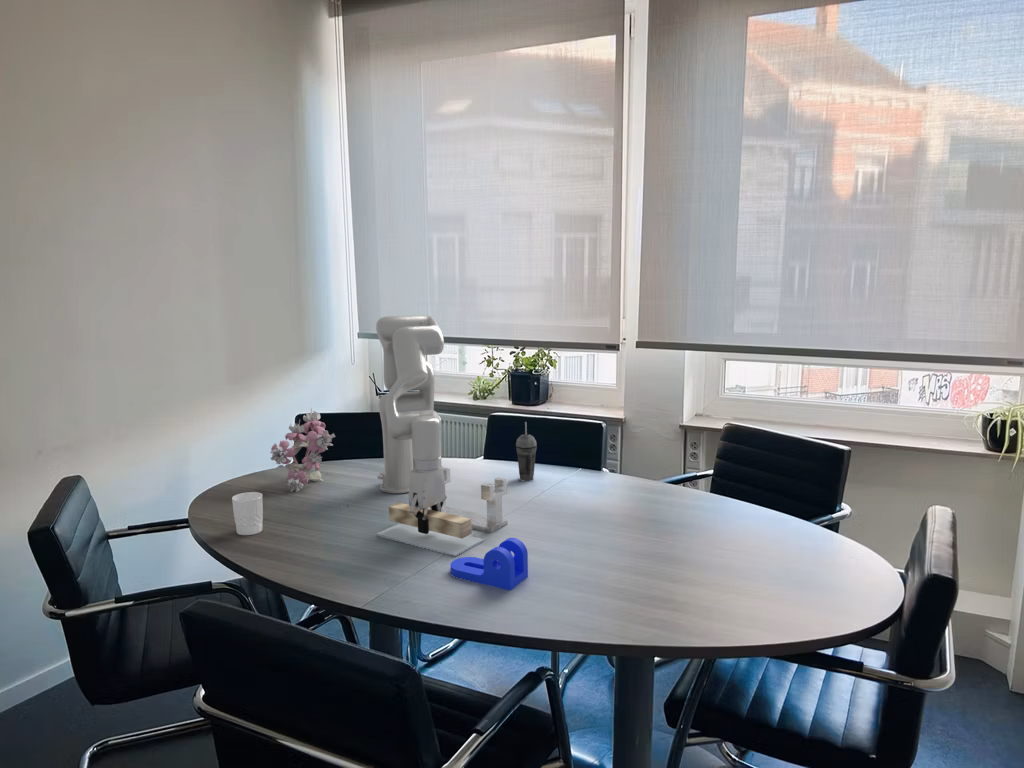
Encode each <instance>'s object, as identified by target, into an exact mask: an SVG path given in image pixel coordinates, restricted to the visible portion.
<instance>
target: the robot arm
mask: <svg viewBox="0 0 1024 768" xmlns="http://www.w3.org/2000/svg"><path fill="white" fill-rule="evenodd" d="M375 327H376V328H375V330H376V334H377V337H378V340H379V342H380V344H381V347H382V351H383V354H382V355H383V360H382V362H383V367H382V368H383V369H382V370H383V384H384V386H385V388H386V390H387V391H388V393H386V394H383V395H382V396H381V397H380V398H379V400H378V410H379V416H380V421H381V429H382V444H383V445H382V446H383V447H382V448H383V467H384V468H383V469H384V471H380V472H379V474H378V475H377V480H382V483H381V484H380V488H379V489H380V490H381V492H383V493H387V494H405V493H406V494H407V493H408V505H409V506H410V509H409V512H410V513H412V514H414V515H415V516H416V518H417V519H418V532H420V533H424V534H428V533H429V529H428V519H426V518H427V509H429V508H430V510H434V511H439V512H441V508H442V506H443V503H444V501H445V500H447V498H448V497H447V495H446V484H445V481H444V474H443V469H442V467H443V466H442V439H441V436H442V435H441V434H442V433H441V430H442V418H441V416H440V415H439V414H438V412H437V411H435V409H434V406H435V372H434V367H433V365H432V363H431V362H429V361H428V360H427V359H426V356H431V355H432V356H433V355H434V356H435V355H436V356H437V355H440V354H441V353H442V352H444V351H443V350H444V347H445V340H444V335H443V332H442V329H441V327H440V325H439V324H438V323H437V321H436V320H435V318H434V317H433V316H431V315H428V314H427V315H422V314H421V315H390V316H383V317H380V318H379V319H377V322H376V325H375ZM421 510H423V514H422V513H421Z"/></svg>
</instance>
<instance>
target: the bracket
mask: <svg viewBox="0 0 1024 768" xmlns="http://www.w3.org/2000/svg"><path fill="white" fill-rule="evenodd" d="M512 553H513V554H512ZM528 553H529V552H528V549H527V546H526V545H525V543H524V542H523V541H522V540H520V539H518V538H517V537H508V538H507V539H505V540H503V541H502V542H501V543H500V544H499V545H498V546H496V547H493V548H491V549H490V550H489V551H487V552H486V553H485V555H484V557H483V558H480V557H475V556H463V557H460V558H456V559H454V560H453V561H451V562H450V574H452V575H453V576H452V575H451V576H452V577H454V576H455V577H454V578H456V577H457V578H456V579H460V578H462V579H461V580H464V579H465V580H464V581H468V580H469V581H468V582H472V581H473V582H472V583H476V582H477V583H478V584H481V585H485V584H486V585H485V586H489V585H490V586H489V587H493V586H494V588H497V587H498V588H499V589H503V590H507V591H510V590H511V591H512V590H513V589H514V588H516V587H518V585H520V584H521V583H522V582H523V581H525V580H526V579H527V578H528V577H529V558H528V557H529V554H528ZM525 578H526V579H525ZM520 582H521V583H520ZM477 583H476V584H477ZM515 586H516V587H515ZM498 588H497V589H498Z"/></svg>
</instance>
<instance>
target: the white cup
mask: <svg viewBox="0 0 1024 768" xmlns="http://www.w3.org/2000/svg"><path fill="white" fill-rule="evenodd" d="M263 501H264V500H263V493H261V492H259V491H258V492H257V491H249V492H242V493H237V494H235V495H233V496H232V497H231V503H232V509H233V517H234V522H235V528H236V533H237V534H238V535H239V536H252V535H257V534H259V533H261V532H262V531H263V529H264V528H263V520H264V518H263V517H264V512H263V511H264V509H263V508H264V507H263V506H264V505H263Z"/></svg>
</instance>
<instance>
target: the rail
mask: <svg viewBox="0 0 1024 768" xmlns="http://www.w3.org/2000/svg"><path fill="white" fill-rule="evenodd" d="M409 509H410V506H409V503H402V502H397V503H394V504H391V505H389V506H388V517H389V518H388V519H389V521H390V522H395V523H398V524H400V523H401V524H405V525H409V526H413V527H417V528H418V519H417V518H416V516H415V515H414V514H412V513H410V512H409ZM421 513H422V514H423V510H421ZM426 519H428V529H429V531H433V532H437V533H441V534H445V535H449V536H453V537H457V538H461V539H463V538H464V537H466V536H471V535H472V532H473V531H472V530H473V529H472V528H471V519H469V518H465V517H461V516H456V515H452V514H447V513H443V512H439V511H434V510H431V509H429V508H427V518H426Z"/></svg>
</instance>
